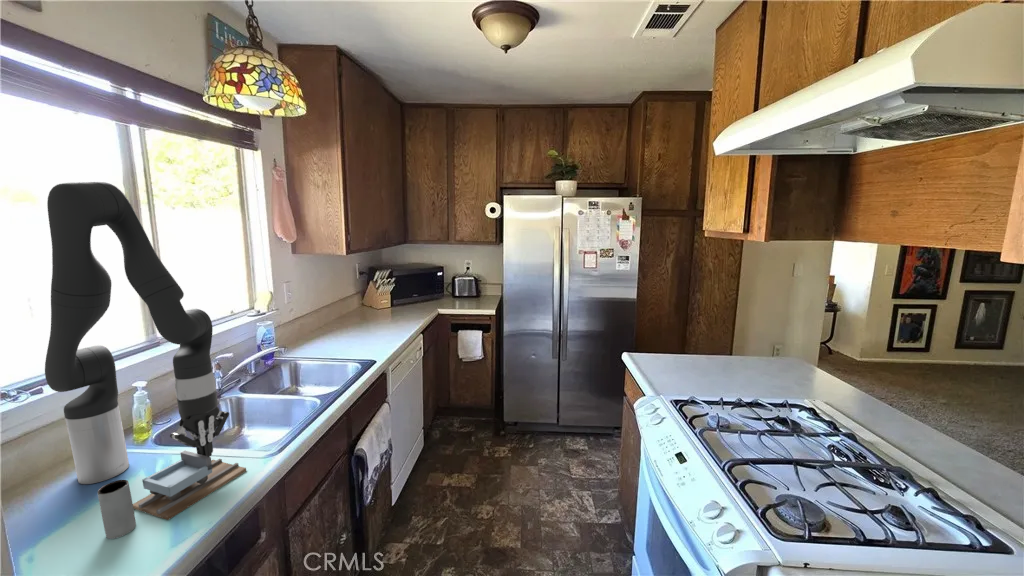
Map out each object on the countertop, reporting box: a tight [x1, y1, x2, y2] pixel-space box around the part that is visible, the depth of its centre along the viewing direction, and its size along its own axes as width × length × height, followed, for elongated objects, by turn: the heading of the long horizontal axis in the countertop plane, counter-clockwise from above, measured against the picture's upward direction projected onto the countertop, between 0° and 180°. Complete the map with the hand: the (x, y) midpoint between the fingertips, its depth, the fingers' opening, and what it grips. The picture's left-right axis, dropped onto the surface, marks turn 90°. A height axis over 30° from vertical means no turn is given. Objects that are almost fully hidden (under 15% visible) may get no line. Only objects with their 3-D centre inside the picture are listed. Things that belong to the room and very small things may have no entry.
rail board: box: [133, 458, 247, 521], centre depth 95 cm, size 12×18×2 cm, turn 162°
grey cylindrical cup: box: [96, 479, 137, 540], centre depth 81 cm, size 4×4×10 cm
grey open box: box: [142, 450, 212, 500], centre depth 92 cm, size 9×9×6 cm
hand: (205, 456), depth 98 cm, fingers closed
